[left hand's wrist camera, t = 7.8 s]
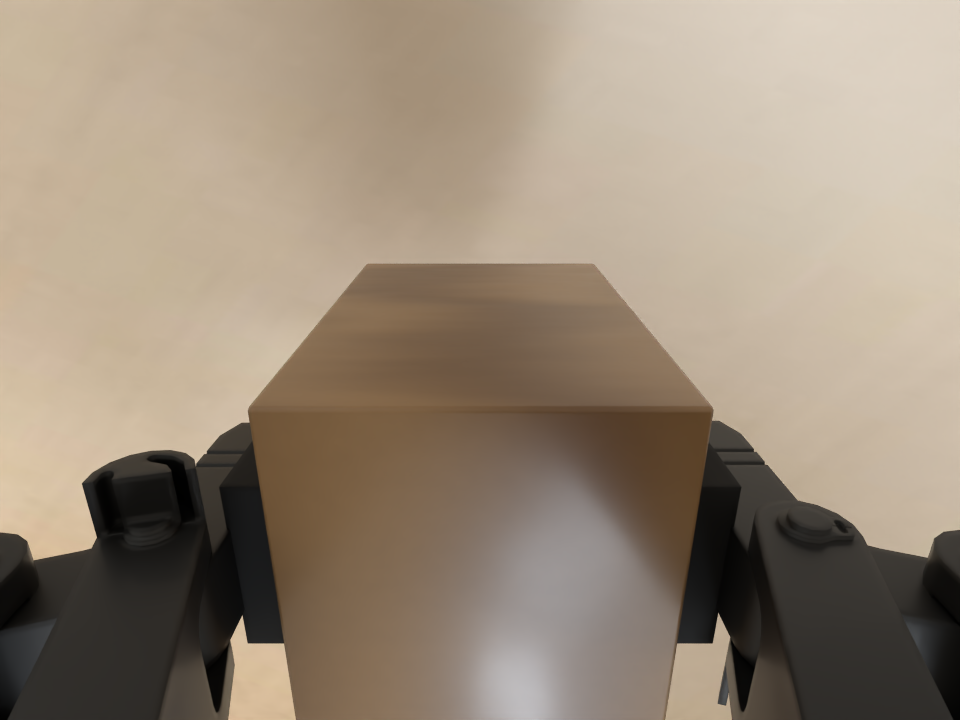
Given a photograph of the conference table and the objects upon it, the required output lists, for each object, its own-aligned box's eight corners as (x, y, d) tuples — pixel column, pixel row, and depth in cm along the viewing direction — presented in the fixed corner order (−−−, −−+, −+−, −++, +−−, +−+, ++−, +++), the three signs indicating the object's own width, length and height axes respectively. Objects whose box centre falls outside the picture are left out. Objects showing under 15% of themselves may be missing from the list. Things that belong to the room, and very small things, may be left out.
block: (380, 464, 16) (297, 743, 9) (366, 263, 14) (245, 408, 7) (580, 464, 16) (663, 743, 9) (594, 263, 14) (716, 408, 7)
